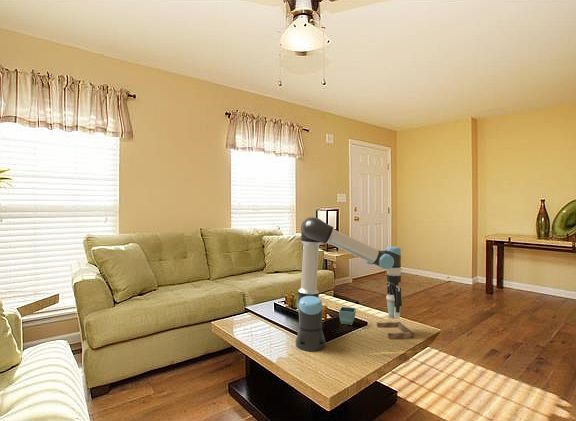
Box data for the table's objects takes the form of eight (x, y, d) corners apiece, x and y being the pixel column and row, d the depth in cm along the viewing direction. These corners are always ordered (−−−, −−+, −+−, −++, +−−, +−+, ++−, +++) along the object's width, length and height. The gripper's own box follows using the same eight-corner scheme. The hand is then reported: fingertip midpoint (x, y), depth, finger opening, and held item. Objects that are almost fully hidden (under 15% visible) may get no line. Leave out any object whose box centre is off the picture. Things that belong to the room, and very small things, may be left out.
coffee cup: (400, 314, 182) (400, 293, 182) (404, 319, 174) (403, 297, 174) (384, 314, 183) (384, 293, 183) (387, 319, 174) (387, 297, 174)
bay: (388, 338, 169) (388, 333, 169) (376, 326, 187) (376, 322, 187) (413, 338, 170) (413, 333, 170) (399, 326, 188) (399, 321, 188)
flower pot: (356, 322, 193) (356, 307, 193) (354, 327, 185) (354, 312, 185) (341, 321, 196) (341, 306, 196) (338, 326, 188) (338, 310, 188)
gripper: (408, 278, 169) (408, 321, 168) (393, 271, 189) (393, 310, 189) (394, 278, 168) (395, 322, 168) (380, 271, 188) (380, 310, 188)
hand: (394, 315), depth 178 cm, fingers closed on coffee cup, 7 cm apart
